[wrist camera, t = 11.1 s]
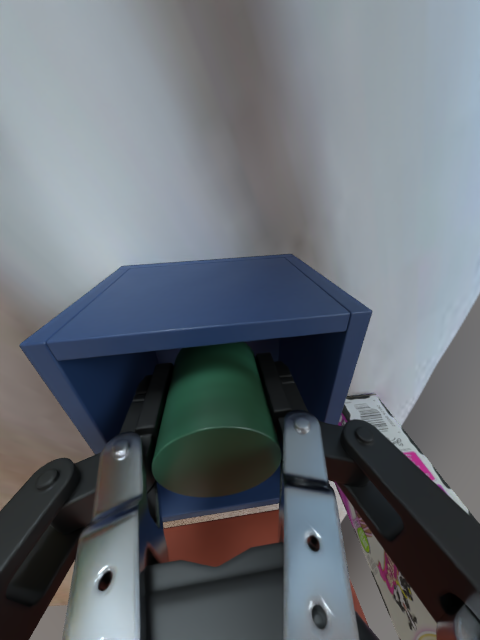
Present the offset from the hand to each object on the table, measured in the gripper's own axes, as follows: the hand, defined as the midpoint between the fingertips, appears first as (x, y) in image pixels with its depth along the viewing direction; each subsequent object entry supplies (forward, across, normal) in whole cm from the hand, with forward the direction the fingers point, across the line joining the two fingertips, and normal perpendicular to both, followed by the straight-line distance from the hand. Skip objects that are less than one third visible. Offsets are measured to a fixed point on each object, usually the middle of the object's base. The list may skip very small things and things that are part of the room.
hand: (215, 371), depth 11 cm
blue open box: (+6, 0, +3) cm, 7 cm away
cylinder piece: (0, 0, 0) cm, 0 cm away
